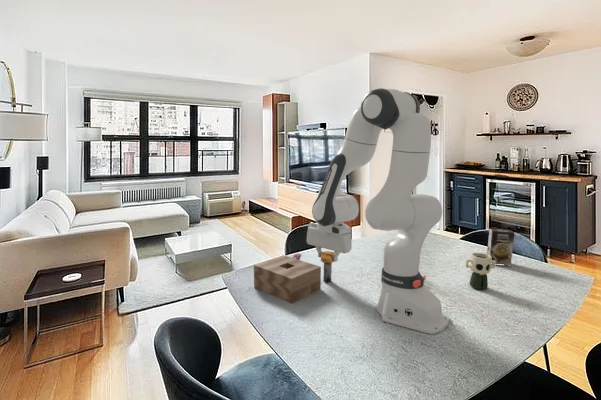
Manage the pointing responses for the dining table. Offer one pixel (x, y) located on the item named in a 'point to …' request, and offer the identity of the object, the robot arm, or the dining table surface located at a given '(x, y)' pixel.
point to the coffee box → (500, 245)
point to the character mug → (480, 269)
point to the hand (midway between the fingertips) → (327, 259)
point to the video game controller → (297, 256)
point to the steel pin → (327, 264)
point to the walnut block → (287, 278)
